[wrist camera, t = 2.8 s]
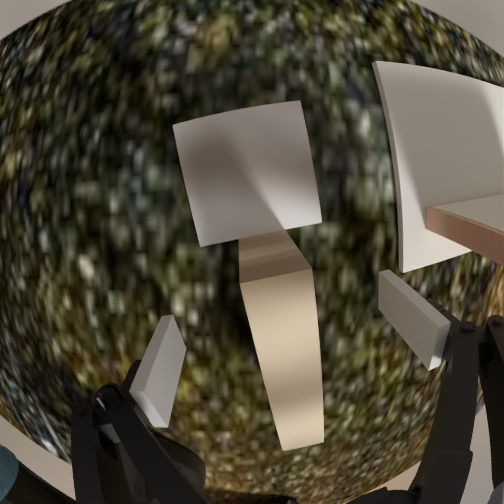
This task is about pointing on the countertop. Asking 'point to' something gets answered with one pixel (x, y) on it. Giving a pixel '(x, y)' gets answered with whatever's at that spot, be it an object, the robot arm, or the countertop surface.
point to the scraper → (264, 244)
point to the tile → (471, 224)
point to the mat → (439, 149)
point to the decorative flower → (290, 501)
